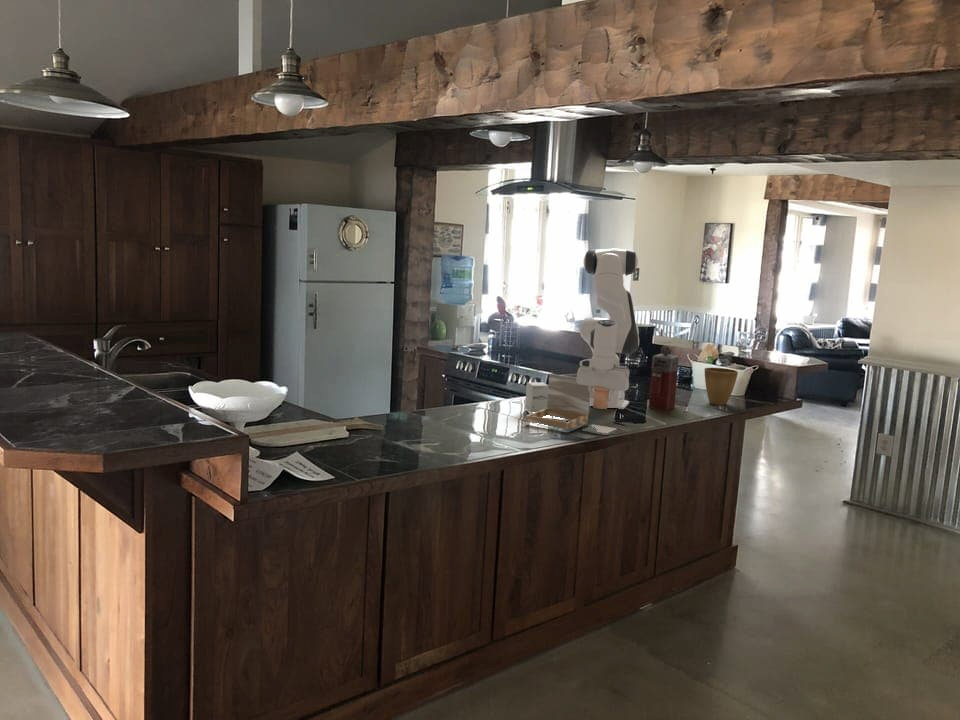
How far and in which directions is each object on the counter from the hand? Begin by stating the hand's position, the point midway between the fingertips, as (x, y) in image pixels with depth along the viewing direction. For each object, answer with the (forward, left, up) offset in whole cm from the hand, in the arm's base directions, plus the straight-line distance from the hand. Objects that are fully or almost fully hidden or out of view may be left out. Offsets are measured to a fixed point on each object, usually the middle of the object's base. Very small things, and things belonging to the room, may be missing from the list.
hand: (601, 399), depth 295 cm
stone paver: (0, 0, -13) cm, 13 cm away
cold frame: (+2, -17, -13) cm, 21 cm away
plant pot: (-88, +22, -13) cm, 92 cm away
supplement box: (-11, -33, -13) cm, 37 cm away
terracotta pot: (0, 0, -3) cm, 3 cm away
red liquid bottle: (-60, +4, -13) cm, 62 cm away
